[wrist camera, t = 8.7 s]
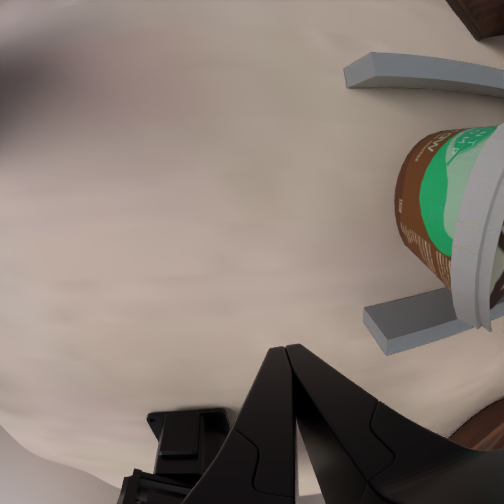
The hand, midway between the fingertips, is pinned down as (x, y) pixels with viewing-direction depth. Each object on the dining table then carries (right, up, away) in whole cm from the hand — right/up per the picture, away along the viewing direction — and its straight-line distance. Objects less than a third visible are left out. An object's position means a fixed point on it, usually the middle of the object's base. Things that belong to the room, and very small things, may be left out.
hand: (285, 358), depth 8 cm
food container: (+11, +8, +10) cm, 17 cm away
